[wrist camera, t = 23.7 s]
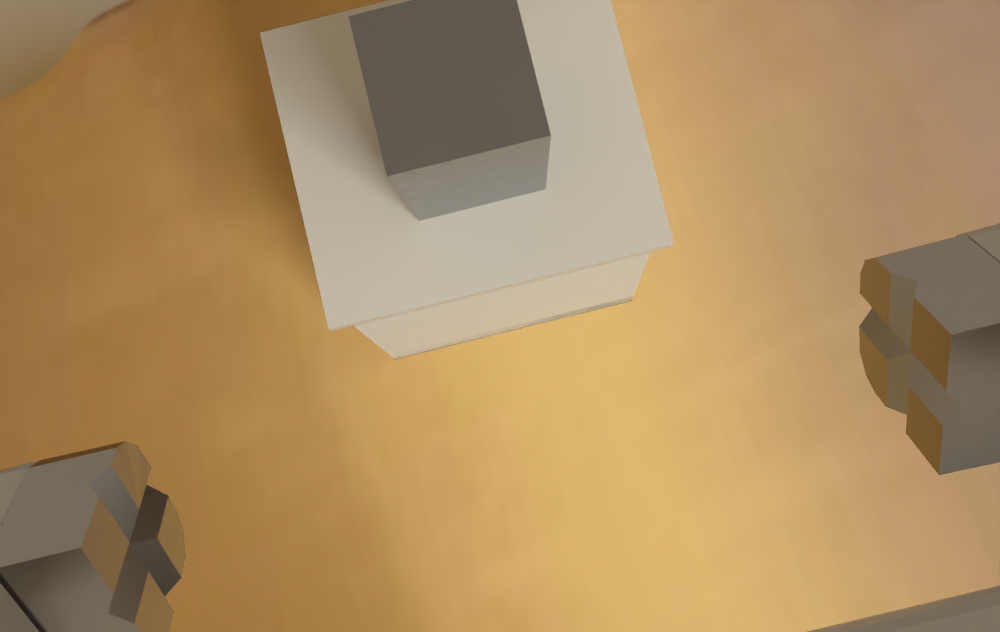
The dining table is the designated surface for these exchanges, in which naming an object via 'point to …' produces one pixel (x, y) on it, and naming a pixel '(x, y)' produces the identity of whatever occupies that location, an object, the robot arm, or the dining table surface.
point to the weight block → (453, 102)
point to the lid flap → (479, 230)
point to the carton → (507, 308)
